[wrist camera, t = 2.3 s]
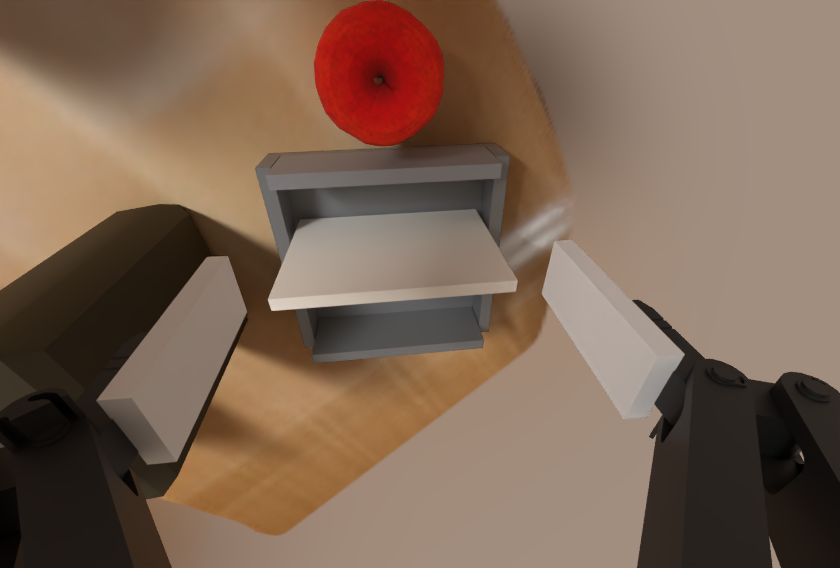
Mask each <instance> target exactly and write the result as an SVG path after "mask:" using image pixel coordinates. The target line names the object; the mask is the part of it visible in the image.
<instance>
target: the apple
mask: <svg viewBox="0 0 840 568" xmlns="http://www.w3.org/2000/svg"><path fill="white" fill-rule="evenodd" d="M314 70H315V82H316V88H317V91H318V94H319V97H320V100H321V103H322V105H323V107H324V110H325V112H326V114H327V115H328V116H329V117H330V118H331V119H332V121H333V122H334V123H335V124H336V125H337V126H338V127H339V128H340V129H342V130H343V131H345V132H347V133H348V134H350V135H352V136H353V137H355V138H357V139H358V140H360V141H362V142H363V143H365V144H369V145H375V146H392V145H395V144H398V143H401V142H403V141H404V140H406V139H408V138H410V137H411V136H413V135H415V134H416V133H417V132H418V131H419V130H420V129H421V128H423V127H424V126H425V125H426V124H427V123H428V122H429V121H430V120H431V118H432V117H433V116H434V114H435V113H436V112H437V109H438V106H439V103H440V100H441V97H442V93H443V78H444V63H443V54H442V52H441V50H440V47H439V45H438V43H437V40H436V39H435V38H434V36H433V35H432V34H431V32H430V31H429V30H428V29H427V28H426V27H425V26H424V25H423V24H422V23H421V22H420V21H419V20H417V19H416V18H415V17H414V16H413V15H412V14H411V13H410V12H408V11H406V10H404V9H402V8H400V7H398V6H396V5H394V4H392V3H390V2H386V1H383V0H376V1H365V2H362V3H359V4H357V5H354V6H352V7H349V8H347V9H344V10H341V11H340V12H339V14H338V15H337V16H336V17H335V18H334V19H333V20H332V21H331V22H330V23H329V24H328V26H327V27H326V28H325V30H324V33H323V35H322V37H321V39H320V41H319V43H318V46H317V51H316V56H315V61H314Z"/></svg>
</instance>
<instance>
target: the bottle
mask: <svg viewBox="0 0 840 568" xmlns="http://www.w3.org/2000/svg"><path fill="white" fill-rule="evenodd" d="M207 257H213V256H212V255H211V253H210V251H209V249H208V247H207V246H206V244H205V242H204V240H203V239H202V237H201V235H200V233H199V231H198V230H197V228H196V226H195V224H194V223H193V221H192V219H191V217H190V215H189V214H188V213H187V212H186V211H185V210H184V209H183V208H182V207H181V206H180V205H169V204H158V205H152V206H147V207H141V208H136V209H130V210H124V211H119V212H116V213H114V214H113V215H111V216H110V217H108V218H107V219H105V220H104V221H102V222H101V223H100V224H98V225H97V226H95V227H94V228H92V229H91V230H89V231H88V232H86V233H85V234H83V235H82V236H80V237H79V238H77V239H76V240H74V241H73V242H71V243H70V244H68V245H67V246H65V247H64V248H62V249H61V250H59V251H58V252H57V253H55V254H54V255H52V256H51V257H49V258H48V259H46V260H45V261H43V262H42V263H40V264H39V265H37V266H36V267H34V268H33V269H31V270H30V271H28V272H27V273H25V274H24V275H22V276H21V277H19V278H18V279H16V280H15V281H14V282H12V283H11V284H9V285H8V286H6V287H5V288H3V289H2V290H0V411H1V410H3V409H4V408H5V407H7V406H8V405H9V404H11V403H12V402H14V401H16V400H18V399H20V398H22V397H24V396H25V395H28V394H30V393H33V392H36V391H39V390H43V389H49V388H59V389H64V390H65V392H66V393H67V394H68V395H69V396H70V397H71V398H72V400H73V401H74V402H76V400H77V399H78V398H79V397H80V396H81V394H82V393H83V392H84V391H85V389H86V388H87V387H88V386H89V385H90V383H91V382H92V381H93V380H94V379H95V377H96V376H97V375H98V374H99V373H100V371H103V368H104V366H105V365H106V364H107V363H108V362H109V360H112V357H113V356H114V354H115V353H116V352H117V351H118V350H119V348H120V347H121V346H122V345H123V344H124V343H125V342H127V341H128V340H129V339H131V338H132V337H134V336H135V335H136V334H138V333H139V332H149V331H150V330H151V329H152V328H153V326H154V325H155V324H156V322H157V321H158V320H159V319H160V317H161V316H162V315H163V313H164V312H165V311H166V309H167V308H168V307H169V306H170V304H171V303H172V302H173V300H174V299H175V298H176V296H177V295H178V294H179V293H180V291H181V290H182V289H183V287H184V286H185V285H186V284H187V282H188V281H189V280H190V278H191V277H192V276H193V274H194V273H195V272H196V271H197V269H198V268H199V267H200V265H201V264H202V263H203V262H204V260H205V259H206V258H207ZM247 320H248V319H247V317H246V315H245V317H244V319H243V322H242V324H241V326H240V328H239V330H238V332H237V334H236V337H235V339H234V341H233V343H232V345H231V347H230V349H229V351H228V354H227V356H226V358H225V360H224V362H223V364H222V366H221V369H220V371H219V373H218V375H217V377H216V379H215V381H214V383H213V386H212V388H211V390H210V392H209V394H208V396H207V398H206V401H205V403H204V405H203V407H202V409H201V411H200V413H199V415H198V418H197V420H196V422H195V424H194V426H193V428H192V430H191V432H190V435H189V437H188V439H187V441H186V443H185V445H184V447H183V450H182V452H181V454H180V456H179V458H178V460H177V462H169V463H159V464H148V465H147V463H146V462H145V461H144V460H143V458H142V457H141V456H140V455H139V453H138V454H137V455H136V457H135V459H134V461H133V462H132V464H131V466H130V467H131V468H132V470H133V471H134V472H135V473H136V476H137V479H138V481H139V484H140V487H141V489H142V492H143V494H144V497H145V499H151V498H156V497H162V496H164V494H165V493H166V492H167V490H168V489H169V487H170V486H171V485H172V483H173V482H174V480H175V479H176V478H177V476H178V474H179V472H180V470H181V468H182V465H183V463H184V461H185V459H186V456H187V454H188V452H189V450H190V447H191V445H192V443H193V441H194V439H195V436H196V434H197V432H198V430H199V427H200V425H201V423H202V421H203V418H204V416H205V414H206V412H207V410H208V407H209V405H210V403H211V401H212V398H213V396H214V394H215V392H216V389H217V387H218V385H219V383H220V381H221V378H222V376H223V374H224V372H225V369H226V367H227V365H228V363H229V361H230V358H231V356H232V354H233V352H234V349H235V347H236V345H237V343H238V340H239V338H240V336H241V334H242V332H243V329H244V327H245V325H246V323H247ZM2 447H4V446H3V445H2V444H1V443H0V448H2Z"/></svg>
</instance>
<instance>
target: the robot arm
mask: <svg viewBox="0 0 840 568" xmlns="http://www.w3.org/2000/svg"><path fill="white" fill-rule="evenodd" d="M542 295H543V297H544V298H545V300H546V301H547V303H548V304H549V306H550V307H551V309H552V310H553V312H554V313H555V315H556V317H557V318H558V320H559V321H560V323H561V324H562V326H563V327H564V329H565V330H566V332H567V333H568V335H569V336H570V338H571V339H572V341H573V342H574V344H575V345H576V347H577V349H578V350H579V352H580V353H581V355H582V356H583V358H584V359H585V361H586V362H587V364H588V365H589V367H590V369H591V370H592V372H593V373H594V375H595V376H596V378H597V379H598V381H599V382H600V384H601V385H602V387H603V388H604V390H605V391H606V393H607V394H608V396H609V397H610V399H611V400H612V402H613V404H614V405H615V407H616V408H617V410H618V411H619V413H620V414H621V416H622V417H623V419H635V418H645V417H648V415H649V413H650V412H651V410H652V408H653V407H654V405H656V407H657V408H658V409H659V410H660V412H661V413H662V414H663V415H662V416H661V418H660V420H659V421H658V423H657V424H656V426H655V427H654V429H653V431H652V432H651V434H650V436H649V437H650V438H652V439H653V438H654V437H655V435H656V434H657V435H656V442H655V448H654V455H653V462H652V469H651V476H650V482H649V489H648V496H647V503H646V510H645V517H644V524H643V531H642V537H641V544H640V551H639V558H638V566H637V568H772V559H771V550H770V541H769V537H770V539H771V542H772V545H773V548H774V550H775V553H776V556H777V558H778V561H779V563H780V566H781V568H840V393H839V392H838V391H837V390H836V389H834V388H833V387H831V386H830V385H828V384H827V383H826V382H824V381H822V380H819V379H818V378H815V377H813V376H809V375H806V374H803V373H797V372H788V373H784V374H783V375H782V376H781V377H780V378H779V379H778V381H777V382H776V383H775V384H774V383H768V382H762V381H756V380H751V379H748V378H747V377H746V376H745V375H744V374H743V373H742V372H740V371H739V370H737V369H736V368H734V367H733V366H731V365H728V364H726V363H724V362H722V361H718V360H714V359H705V358H704V357H703V356H702V355H701V354H700V353H699V352H697V350H696V349H694V348H693V347H692V346H691V345H690V344H689V343H688V342H687V341H686V340H685V339H684V338H683V337H682V336H681V335H680V334H679V333H678V332H677V331H676V330H675V329H672V326H670V324H668V322H666V321H664V320H663V318H662V317H661V316H660V315H659V314H658V313H657V312H656V311H655V310H654V309H653V308H652V307H649V306H648V305H646V304H645V303H643V302H641V301H639V300H631V299H630V298H629V297H628V296H627V295H626V294H625V293H624V292H623V291H622V290H621V289H620V288H619V287H618V286H617V285H616V284H615V283H614V282H613V281H612V280H611V279H610V278H609V277H608V276H607V275H606V274H605V273H604V272H603V271H602V270H601V269H600V268H599V267H598V266H597V265H596V264H595V263H594V262H593V261H592V260H591V258H589V256H588V255H587V254H585V252H584V251H583V250H582V249H581V248H580V247H579V246H578V245H577V244H576V243H575V242H574V241H573V240H557V241H554V245H553V249H552V253H551V257H550V261H549V266H548V270H547V274H546V278H545V282H544V286H543V290H542ZM246 313H247V310H246V307H245V304H244V301H243V298H242V295H241V292H240V290H239V287H238V284H237V281H236V278H235V275H234V272H233V269H232V267H231V264H230V261H229V258H228V256H216V257H207V258H206V259H205V260H204V262H203V263H202V264H201V265H200V267H199V268H198V269H197V271H196V272H195V273H194V274H193V276H192V277H191V278H190V280H189V281H188V282H187V284H186V285H185V286H184V287H183V289H182V290H181V291H180V293H179V294H178V295H177V296H176V298H175V299H174V300H173V302H172V303H171V304H170V306H169V307H168V308H167V309H166V311H165V312H164V313H163V315H162V316H161V317H160V319H159V320H158V321H157V322H156V324H155V325H154V326H153V328H152V329H151V330H150V331H149V332H139V333H138V334H136V335H135V336H134V337H132V338H131V339H129V340H128V341H127V342H125V343H124V344H123V345H122V346H121V347H120V348H119V350H118V351H117V352H116V353H115V354H114V356H113V357H112V360H109V362H108V363H107V364H106V365H105V366H104V368H103V371H100V373H99V374H98V375H97V376H96V377H95V379H94V380H93V381H92V382H91V383H90V385H89V386H88V387H87V388H86V389H85V391H84V392H83V393H82V394H81V396H80V397H79V398H78V399H77V400H76V402H74V401H73V400H72V398H71V397H70V396H69V395H68V394H67V393H66V392H65V390H64V389H59V388H49V389H43V390H39V391H36V392H33V393H30V394H28V395H25V396H24V397H22V398H20V399H18V400H16V401H14V402H12V403H11V404H9V405H8V406H7V407H5V408H4V409H3V410H1V411H0V443H1V444H2V445H3V446H4V447H2V448H0V568H172V567H171V565H170V562H169V559H168V557H167V554H166V552H165V549H164V547H163V544H162V541H161V539H160V536H159V533H158V531H157V529H156V526H155V523H154V520H153V518H152V515H151V513H150V510H149V507H148V505H147V502H146V500H145V497H144V494H143V492H142V489H141V487H140V484H139V481H138V479H137V476H136V473H135V472H134V471H133V470H132V468H131V467H130V466H131V464H132V462H133V461H134V459H135V457H136V455H137V454H138V453H139V455H140V456H141V457H142V458H143V460H144V461H145V462H146V463H147V465H148V464H159V463H169V462H177V460H178V458H179V456H180V454H181V452H182V450H183V447H184V445H185V443H186V441H187V439H188V437H189V435H190V432H191V430H192V428H193V426H194V424H195V422H196V420H197V418H198V415H199V413H200V411H201V409H202V407H203V405H204V403H205V401H206V398H207V396H208V394H209V392H210V390H211V388H212V386H213V383H214V381H215V379H216V377H217V375H218V373H219V371H220V369H221V366H222V364H223V362H224V360H225V358H226V356H227V354H228V351H229V349H230V347H231V345H232V343H233V341H234V339H235V337H236V334H237V332H238V330H239V328H240V326H241V324H242V322H243V319H244V317H245V315H246ZM801 451H802V453H803V456H804V461H803V459H802V457H801V456H800V454H799V453H800V452H801Z"/></svg>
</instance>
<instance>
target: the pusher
mask: <svg viewBox="0 0 840 568" xmlns="http://www.w3.org/2000/svg"><path fill="white" fill-rule="evenodd" d="M517 283H518V280H517V278H516V276H515V275H514V273H513V271H512V270H511V268H510V266H509V265H508V263H507V261H506V260H505V258H504V256H503V255H502V253H501V251H500V249H499V248H498V246H497V244H496V243H495V241H494V239H493V238H492V236H491V234H490V233H489V231H488V229H487V228H486V226H485V224H484V223H483V221H482V219H481V218H480V216H479V214H478V212H477V211H476V209H467V210H450V211H434V212H417V213H400V214H384V215H367V216H350V217H334V218H317V219H300V221H299V224H298V226H297V229H296V231H295V234H294V236H293V239H292V241H291V244H290V246H289V249H288V251H287V253H286V256H285V258H284V261H283V263H282V266H281V268H280V271H279V273H278V276H277V278H276V280H275V283H274V285H273V288H272V290H271V293H270V295H269V298H268V302H269V305H270V308H271V311H278V310H290V309H303V308H316V307H328V306H341V305H354V304H366V303H379V302H392V301H404V300H417V299H430V298H443V297H455V296H468V295H481V294H493V293H506V292H516V289H517Z"/></svg>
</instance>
